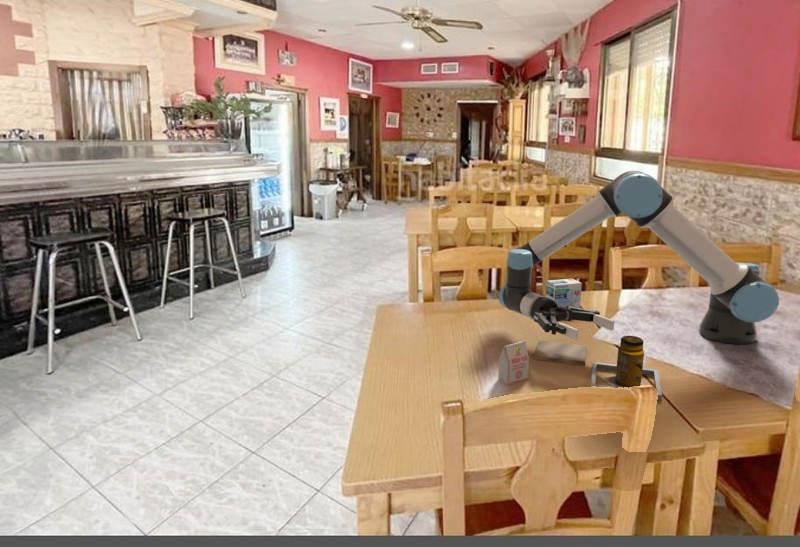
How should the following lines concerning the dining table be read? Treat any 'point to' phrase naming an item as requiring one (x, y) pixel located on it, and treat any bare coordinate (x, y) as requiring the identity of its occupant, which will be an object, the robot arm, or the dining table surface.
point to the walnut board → (560, 352)
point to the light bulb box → (564, 292)
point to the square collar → (613, 368)
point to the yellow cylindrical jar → (628, 363)
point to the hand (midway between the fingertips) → (595, 330)
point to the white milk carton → (514, 363)
